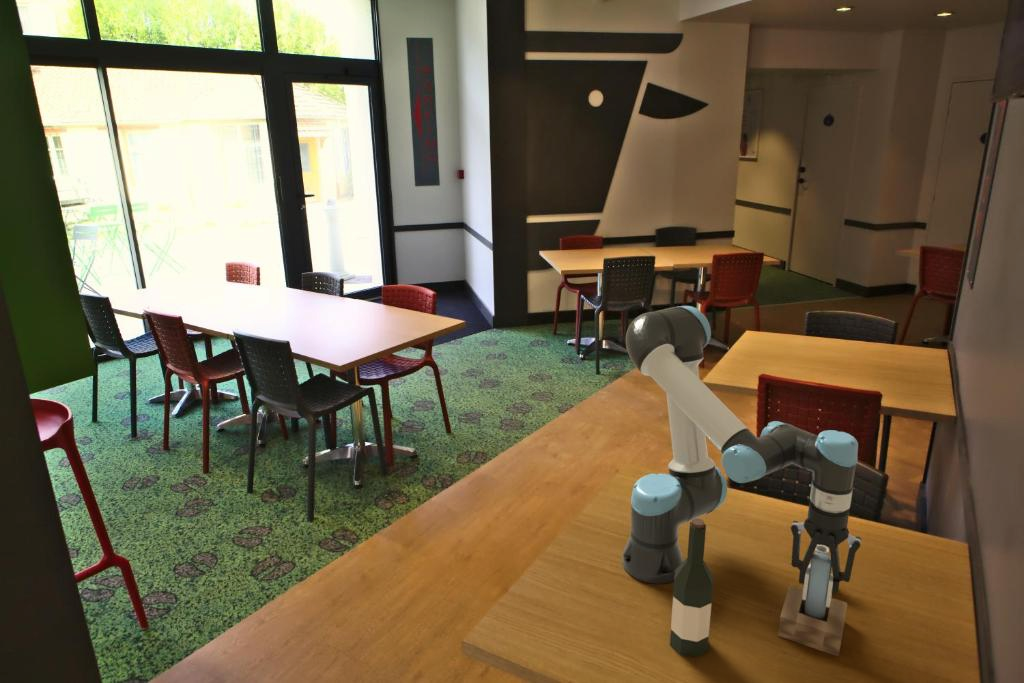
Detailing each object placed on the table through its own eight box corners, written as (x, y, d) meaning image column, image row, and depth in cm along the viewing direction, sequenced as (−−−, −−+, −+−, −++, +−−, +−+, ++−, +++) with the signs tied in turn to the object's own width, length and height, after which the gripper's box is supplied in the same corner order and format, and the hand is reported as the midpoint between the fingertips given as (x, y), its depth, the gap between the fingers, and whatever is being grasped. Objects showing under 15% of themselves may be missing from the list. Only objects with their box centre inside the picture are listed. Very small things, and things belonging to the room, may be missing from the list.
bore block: (777, 635, 141) (780, 616, 139) (787, 603, 151) (789, 585, 149) (838, 656, 135) (841, 637, 133) (844, 621, 145) (847, 602, 143)
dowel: (803, 616, 141) (810, 560, 137) (805, 605, 144) (813, 551, 140) (823, 622, 139) (831, 566, 135) (825, 611, 142) (833, 556, 138)
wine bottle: (679, 624, 145) (687, 506, 136) (715, 641, 140) (726, 519, 131) (662, 645, 139) (669, 523, 130) (698, 664, 134) (709, 538, 125)
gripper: (782, 502, 135) (771, 596, 142) (875, 524, 126) (858, 624, 133) (788, 486, 141) (778, 577, 148) (877, 506, 132) (861, 602, 139)
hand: (816, 599), depth 140 cm, fingers closed on dowel, 4 cm apart
